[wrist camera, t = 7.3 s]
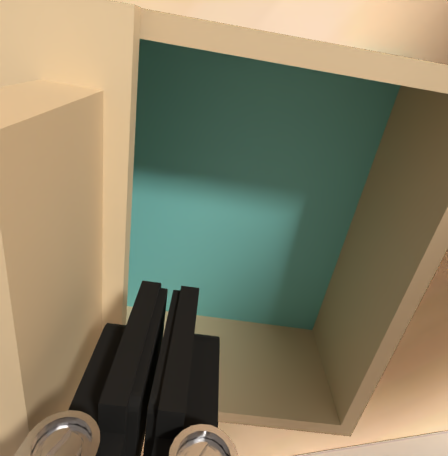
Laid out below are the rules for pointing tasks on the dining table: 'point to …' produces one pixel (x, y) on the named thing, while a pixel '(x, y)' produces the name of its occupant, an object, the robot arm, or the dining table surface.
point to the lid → (62, 196)
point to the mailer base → (288, 208)
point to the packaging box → (396, 447)
